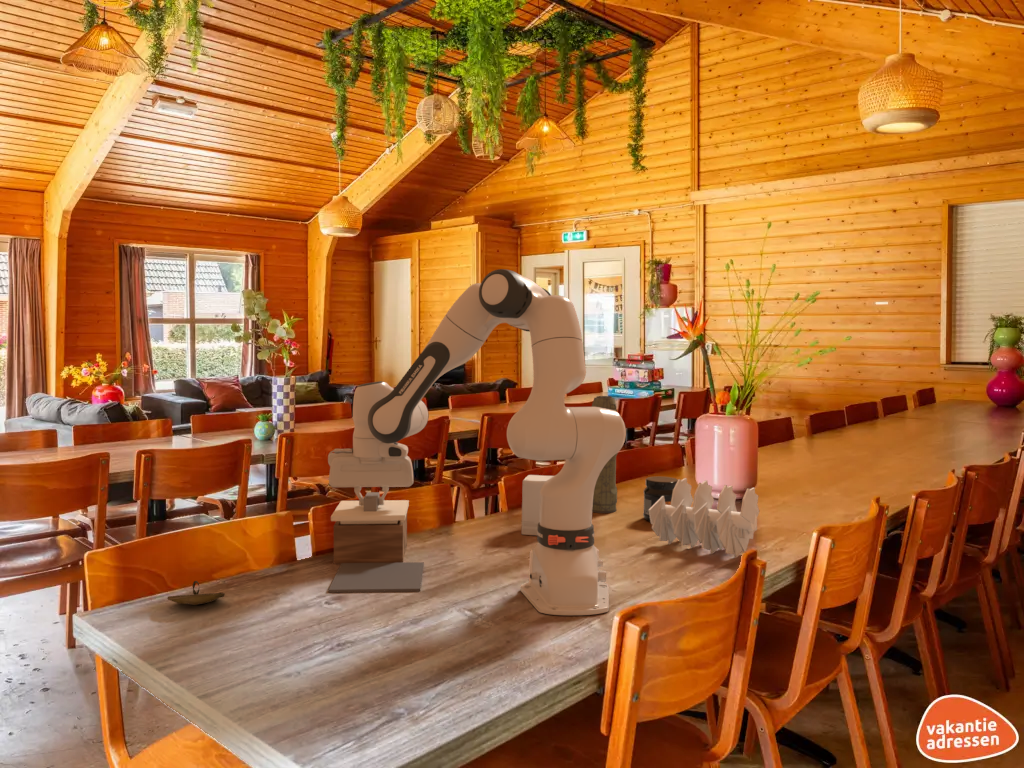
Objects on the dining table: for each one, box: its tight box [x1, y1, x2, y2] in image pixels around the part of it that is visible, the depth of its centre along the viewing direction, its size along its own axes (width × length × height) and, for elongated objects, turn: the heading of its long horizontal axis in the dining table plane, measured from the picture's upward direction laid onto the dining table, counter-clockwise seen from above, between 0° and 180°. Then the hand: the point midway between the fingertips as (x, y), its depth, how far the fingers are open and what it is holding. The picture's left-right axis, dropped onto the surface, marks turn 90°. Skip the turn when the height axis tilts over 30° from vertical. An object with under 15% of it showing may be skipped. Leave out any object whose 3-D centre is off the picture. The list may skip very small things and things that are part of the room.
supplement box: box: [521, 474, 555, 536], centre depth 217 cm, size 9×9×15 cm
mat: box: [328, 561, 425, 594], centre depth 176 cm, size 19×19×1 cm
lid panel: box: [330, 491, 410, 524], centre depth 194 cm, size 17×17×5 cm
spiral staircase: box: [649, 477, 760, 559], centre depth 201 cm, size 18×18×25 cm
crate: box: [333, 513, 408, 565], centre depth 195 cm, size 16×16×9 cm
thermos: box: [591, 395, 619, 514], centre depth 244 cm, size 9×12×35 cm
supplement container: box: [642, 476, 678, 523], centre depth 233 cm, size 10×10×12 cm
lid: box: [167, 580, 226, 606], centre depth 157 cm, size 11×10×5 cm
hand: (371, 504), depth 194 cm, fingers closed on lid panel, 3 cm apart
